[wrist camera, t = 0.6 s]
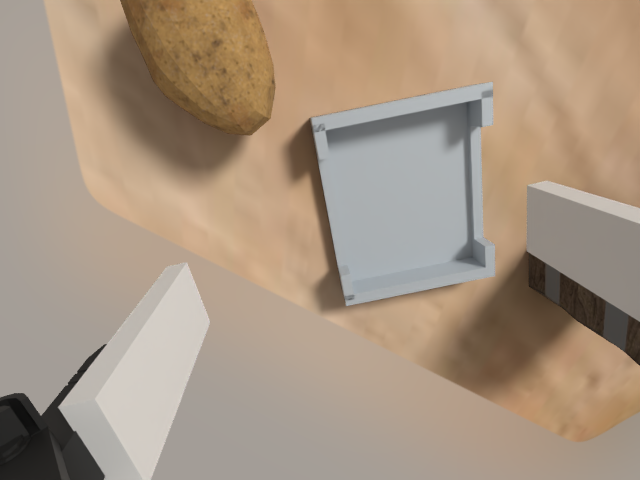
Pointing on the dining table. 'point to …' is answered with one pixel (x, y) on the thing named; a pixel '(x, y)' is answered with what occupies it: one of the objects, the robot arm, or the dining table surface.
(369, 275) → the light blue shallow tray
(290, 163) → the dining table surface
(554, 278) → the mug
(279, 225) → the dining table surface
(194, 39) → the potato
